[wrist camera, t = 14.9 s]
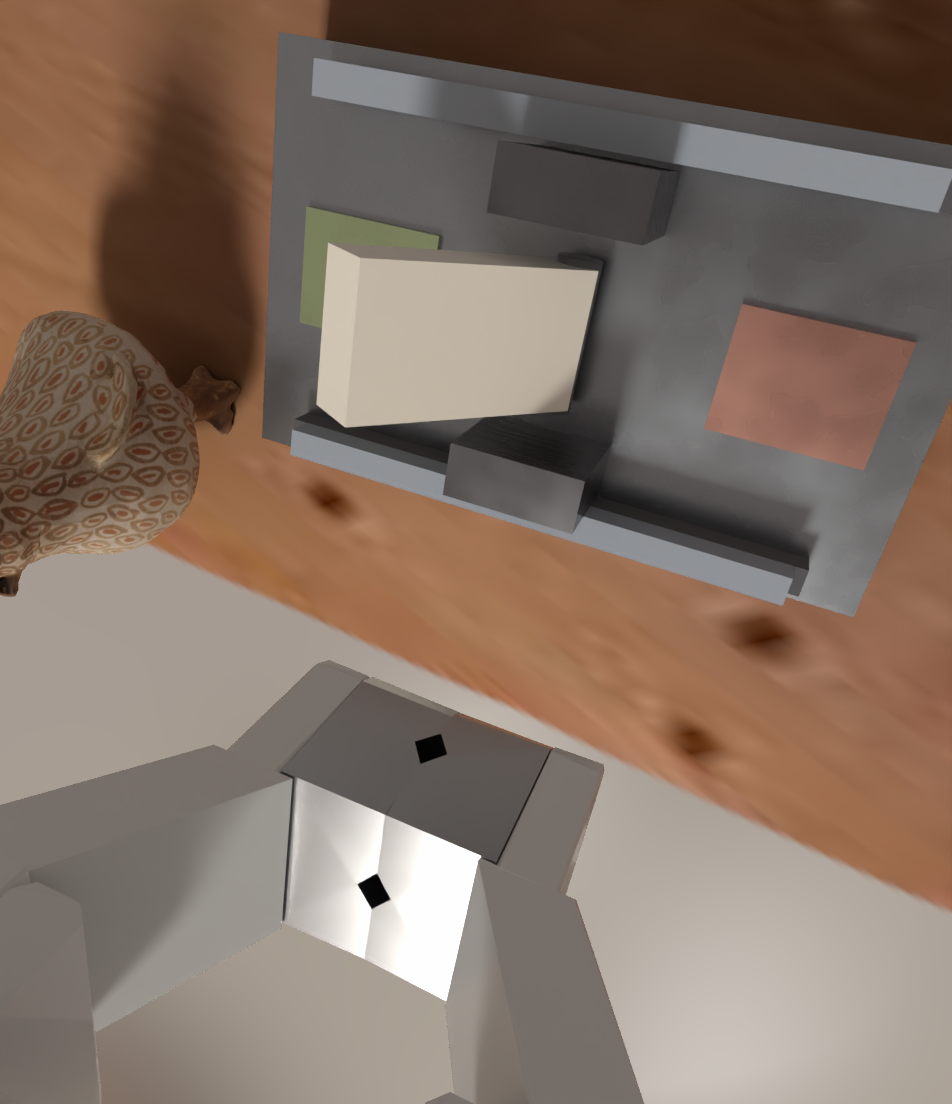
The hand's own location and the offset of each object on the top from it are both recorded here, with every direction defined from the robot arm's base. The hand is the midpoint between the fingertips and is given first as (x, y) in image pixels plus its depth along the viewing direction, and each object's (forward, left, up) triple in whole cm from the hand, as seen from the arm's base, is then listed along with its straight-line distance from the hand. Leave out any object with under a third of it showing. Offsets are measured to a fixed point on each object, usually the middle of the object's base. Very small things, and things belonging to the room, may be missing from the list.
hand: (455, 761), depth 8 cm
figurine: (+22, +8, -24) cm, 34 cm away
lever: (+4, 0, -20) cm, 20 cm away
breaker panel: (+4, 0, -24) cm, 24 cm away
